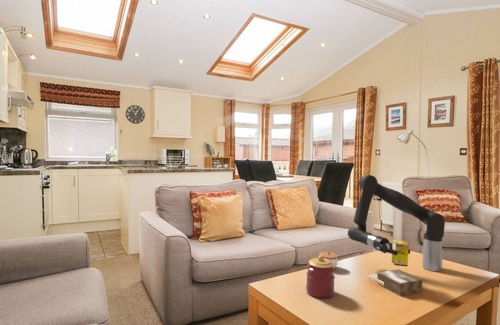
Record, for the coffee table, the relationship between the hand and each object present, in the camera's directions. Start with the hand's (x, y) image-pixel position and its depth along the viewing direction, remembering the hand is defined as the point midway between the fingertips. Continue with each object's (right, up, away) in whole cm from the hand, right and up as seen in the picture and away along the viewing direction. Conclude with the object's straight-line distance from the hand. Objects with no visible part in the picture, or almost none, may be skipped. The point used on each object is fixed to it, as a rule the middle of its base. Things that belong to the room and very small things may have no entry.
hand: (403, 252), depth 146 cm
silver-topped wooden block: (-1, -18, +2) cm, 18 cm away
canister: (-42, -18, -5) cm, 46 cm away
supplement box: (-1, -7, +2) cm, 7 cm away
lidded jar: (-30, -17, +26) cm, 43 cm away
